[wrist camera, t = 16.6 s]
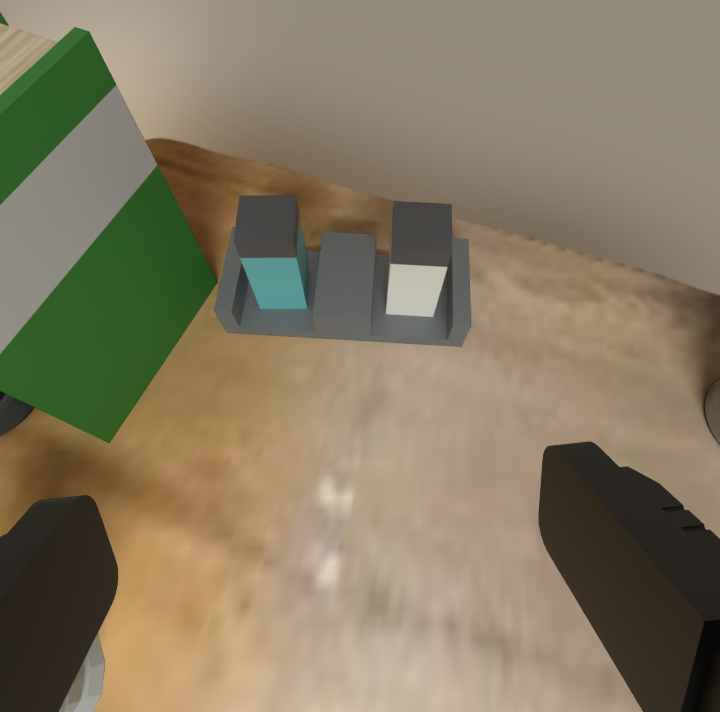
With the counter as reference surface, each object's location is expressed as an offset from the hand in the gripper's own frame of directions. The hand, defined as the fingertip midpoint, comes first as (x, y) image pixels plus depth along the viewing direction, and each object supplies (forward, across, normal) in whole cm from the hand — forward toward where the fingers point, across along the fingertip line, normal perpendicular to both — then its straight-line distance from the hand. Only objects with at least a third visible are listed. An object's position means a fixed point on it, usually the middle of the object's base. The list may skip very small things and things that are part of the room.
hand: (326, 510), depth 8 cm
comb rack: (+38, -2, +6) cm, 38 cm away
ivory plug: (+36, -8, +6) cm, 37 cm away
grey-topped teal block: (+38, +4, +4) cm, 38 cm away
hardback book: (+36, +18, +8) cm, 41 cm away
